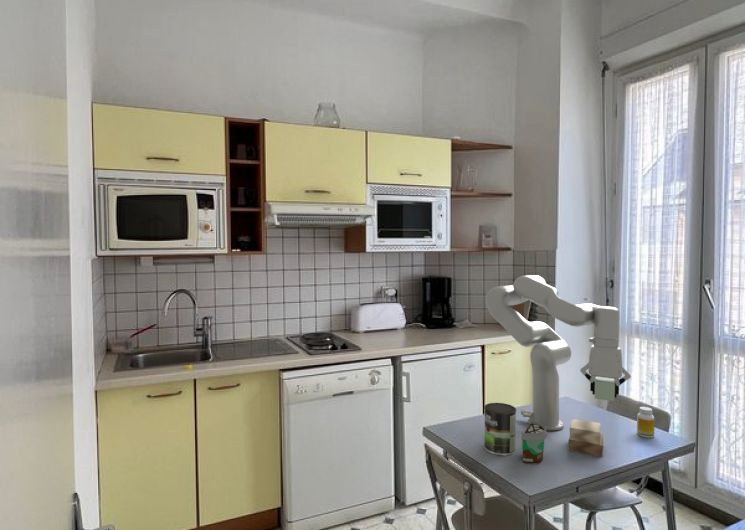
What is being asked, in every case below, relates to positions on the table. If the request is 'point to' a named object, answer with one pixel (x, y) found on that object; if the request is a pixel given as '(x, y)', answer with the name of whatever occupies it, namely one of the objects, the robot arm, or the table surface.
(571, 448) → the walnut block
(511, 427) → the coffee can
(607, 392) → the sage block
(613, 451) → the table surface
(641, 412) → the supplement bottle
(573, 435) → the maple block
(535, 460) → the food container
